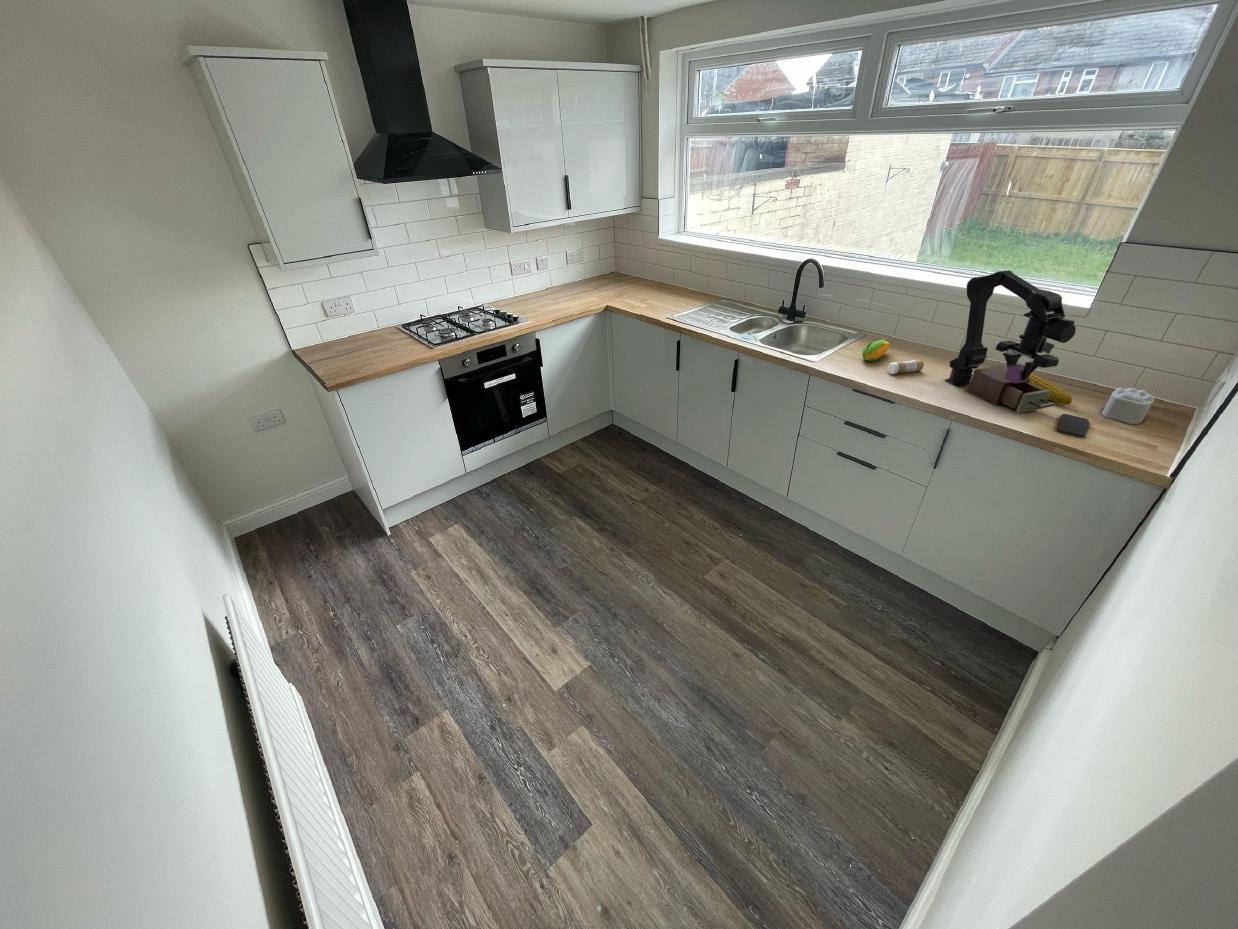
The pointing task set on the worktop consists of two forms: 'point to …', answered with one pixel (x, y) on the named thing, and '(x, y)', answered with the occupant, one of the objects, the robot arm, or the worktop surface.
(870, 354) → the corn
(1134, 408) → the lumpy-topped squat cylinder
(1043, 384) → the food
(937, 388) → the worktop surface
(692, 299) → the worktop surface
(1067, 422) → the phone
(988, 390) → the cabinet
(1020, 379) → the block
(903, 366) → the sprinkles bottle
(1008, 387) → the drawer
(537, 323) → the worktop surface
